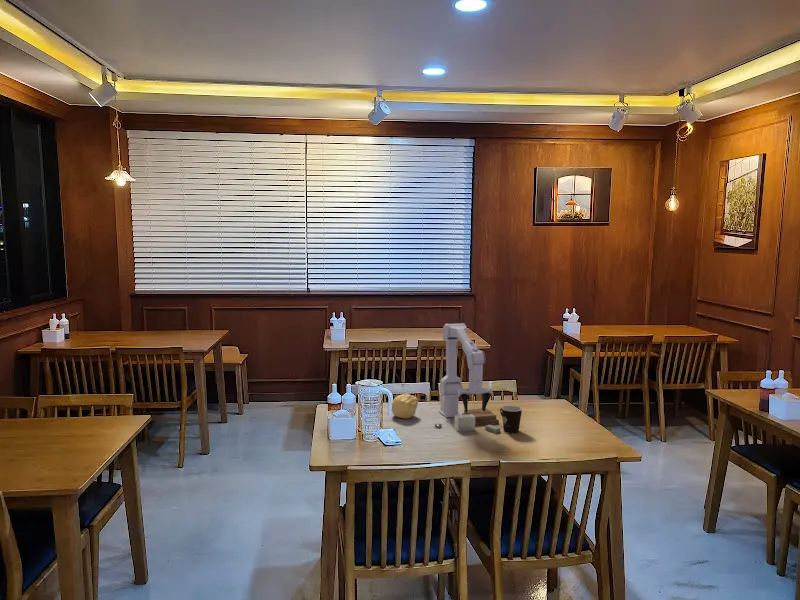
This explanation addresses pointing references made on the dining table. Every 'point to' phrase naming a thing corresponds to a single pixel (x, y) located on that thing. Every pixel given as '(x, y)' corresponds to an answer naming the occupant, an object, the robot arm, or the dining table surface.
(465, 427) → the block
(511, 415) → the coffee mug
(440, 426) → the steel nut
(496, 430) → the grey offcut
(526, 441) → the dining table surface
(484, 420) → the stand
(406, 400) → the tan rounded lump
